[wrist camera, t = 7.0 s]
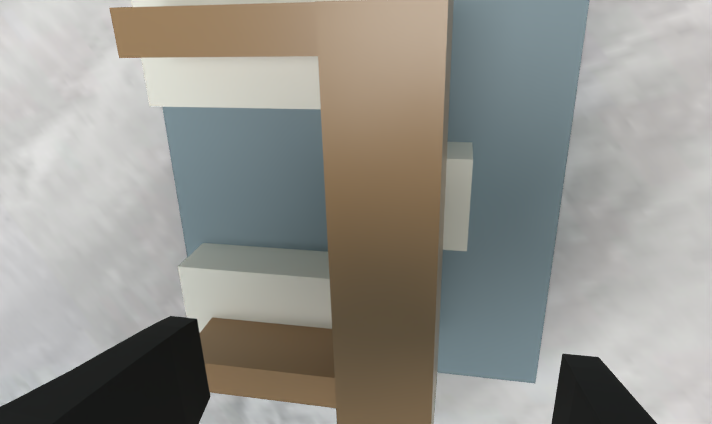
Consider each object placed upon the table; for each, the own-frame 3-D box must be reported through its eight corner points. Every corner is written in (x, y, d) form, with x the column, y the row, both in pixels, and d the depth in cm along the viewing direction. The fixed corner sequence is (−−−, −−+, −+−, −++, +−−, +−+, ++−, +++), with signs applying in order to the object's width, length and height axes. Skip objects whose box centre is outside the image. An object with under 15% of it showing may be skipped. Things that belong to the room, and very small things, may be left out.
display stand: (212, 332, 23) (178, 376, 21) (151, -63, 17) (92, -74, 14) (532, 366, 21) (542, 421, 18) (593, -85, 15) (622, -105, 12)
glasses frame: (216, 343, 20) (141, 447, 15) (163, 6, 15) (32, 9, 10) (437, 367, 18) (428, 491, 13) (453, -2, 13) (448, -3, 9)
